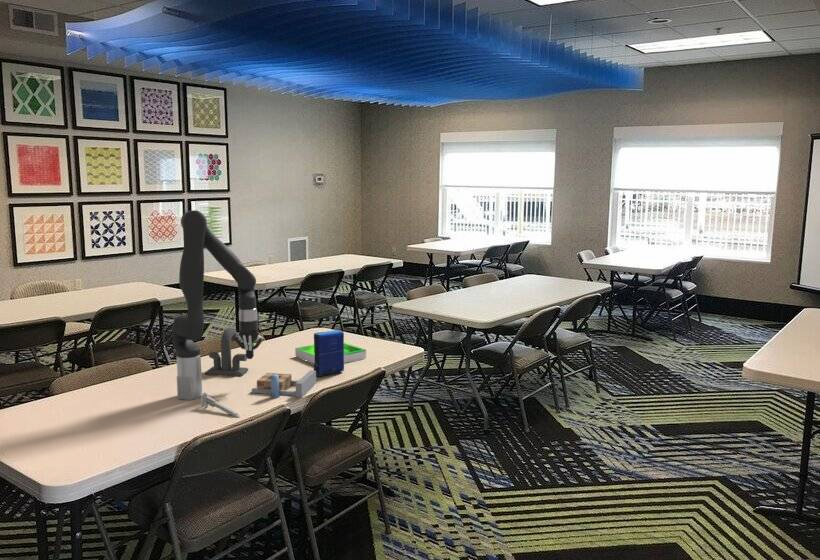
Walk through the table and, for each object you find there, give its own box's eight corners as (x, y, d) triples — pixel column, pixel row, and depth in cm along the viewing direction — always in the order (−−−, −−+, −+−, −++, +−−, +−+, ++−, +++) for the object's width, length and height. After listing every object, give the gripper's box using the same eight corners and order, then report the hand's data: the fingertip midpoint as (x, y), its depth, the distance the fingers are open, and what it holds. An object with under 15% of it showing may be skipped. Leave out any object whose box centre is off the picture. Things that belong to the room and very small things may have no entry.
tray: (295, 357, 320) (295, 348, 320) (336, 349, 337) (336, 340, 336) (324, 369, 302) (324, 358, 301) (366, 359, 319) (366, 349, 318)
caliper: (201, 407, 250) (200, 392, 249) (203, 406, 251) (202, 391, 250) (238, 418, 239) (237, 402, 238) (240, 417, 240) (239, 401, 239)
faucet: (254, 366, 304) (253, 325, 301) (243, 376, 288) (241, 333, 285) (217, 365, 306) (216, 323, 303) (204, 375, 290) (202, 331, 287)
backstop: (301, 397, 261) (301, 383, 260) (249, 394, 265) (249, 380, 264) (316, 384, 279) (315, 370, 278) (266, 380, 282) (266, 367, 282)
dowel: (277, 398, 260) (276, 376, 259) (270, 397, 261) (269, 376, 259) (280, 395, 263) (279, 374, 262) (273, 395, 264) (272, 374, 262)
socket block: (282, 392, 266) (281, 382, 265) (257, 390, 268) (256, 380, 267) (291, 384, 277) (291, 374, 276) (267, 382, 279) (267, 372, 278)
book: (317, 378, 287) (316, 334, 284) (311, 375, 291) (311, 332, 288) (345, 372, 295) (344, 330, 292) (339, 369, 299) (339, 328, 296)
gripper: (229, 320, 267) (231, 360, 270) (259, 321, 265) (261, 361, 268) (237, 316, 275) (239, 355, 278) (266, 317, 272) (268, 356, 275)
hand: (250, 358), depth 273 cm, fingers closed
